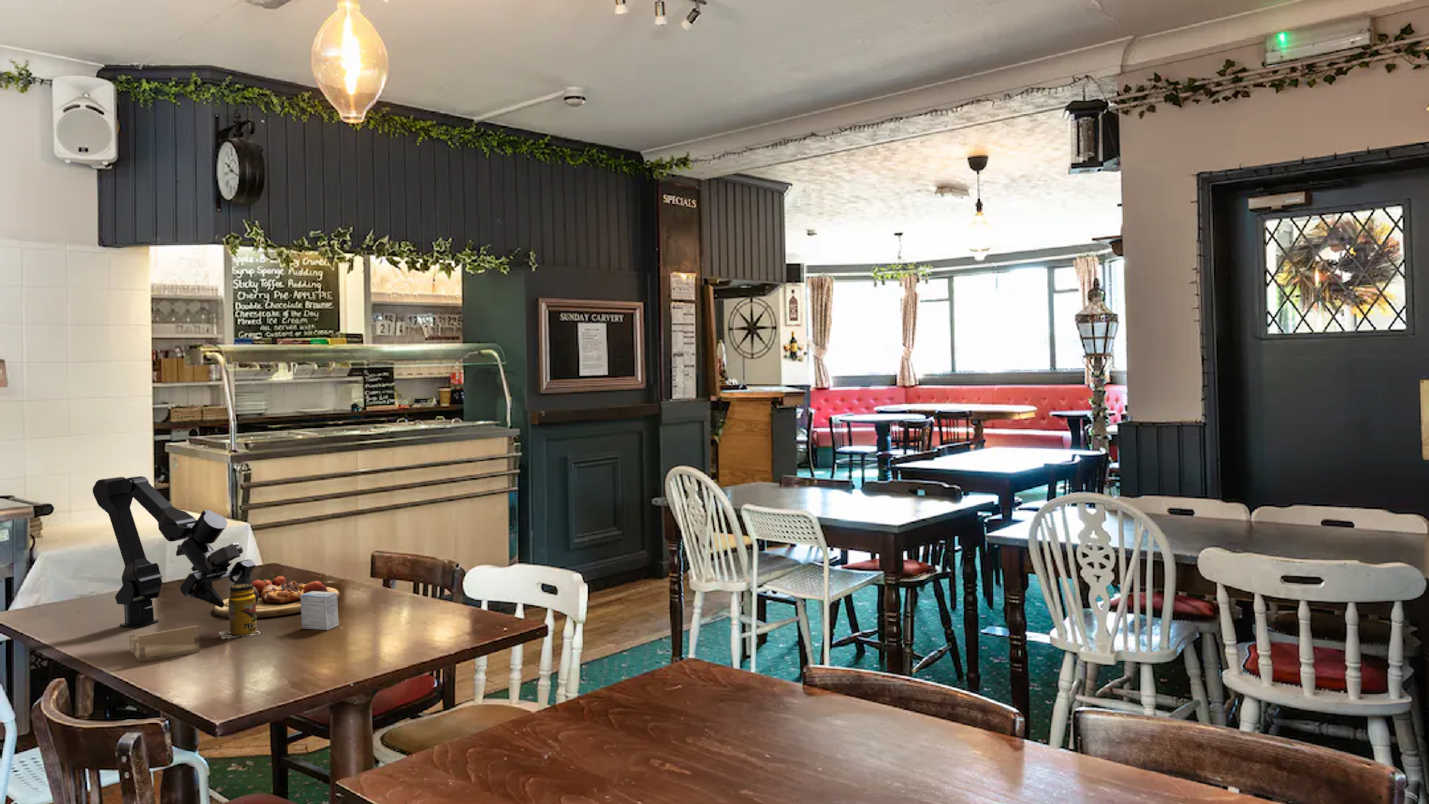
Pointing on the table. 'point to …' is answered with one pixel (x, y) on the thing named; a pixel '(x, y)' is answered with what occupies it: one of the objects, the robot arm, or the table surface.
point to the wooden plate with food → (278, 596)
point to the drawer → (165, 644)
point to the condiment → (241, 611)
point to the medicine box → (319, 610)
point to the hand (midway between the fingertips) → (238, 601)
